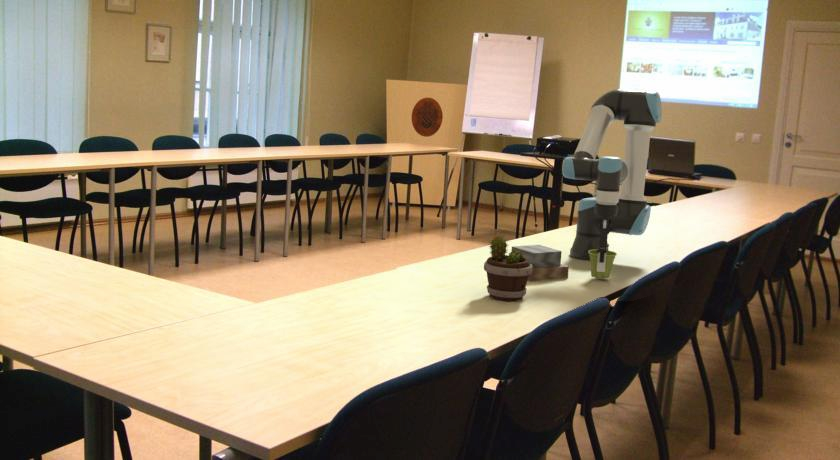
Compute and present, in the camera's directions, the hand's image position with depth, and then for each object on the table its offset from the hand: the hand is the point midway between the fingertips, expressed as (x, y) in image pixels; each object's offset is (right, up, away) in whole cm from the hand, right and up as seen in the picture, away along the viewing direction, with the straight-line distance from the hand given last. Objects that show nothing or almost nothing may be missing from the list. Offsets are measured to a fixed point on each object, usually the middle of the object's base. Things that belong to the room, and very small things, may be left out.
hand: (601, 268), depth 278 cm
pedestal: (-22, -2, +3) cm, 22 cm away
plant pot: (0, -3, +1) cm, 3 cm away
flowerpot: (-35, -8, -30) cm, 47 cm away
